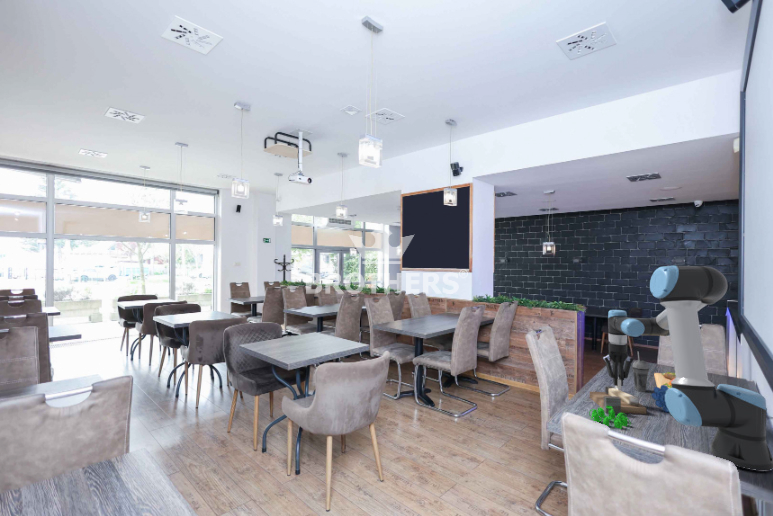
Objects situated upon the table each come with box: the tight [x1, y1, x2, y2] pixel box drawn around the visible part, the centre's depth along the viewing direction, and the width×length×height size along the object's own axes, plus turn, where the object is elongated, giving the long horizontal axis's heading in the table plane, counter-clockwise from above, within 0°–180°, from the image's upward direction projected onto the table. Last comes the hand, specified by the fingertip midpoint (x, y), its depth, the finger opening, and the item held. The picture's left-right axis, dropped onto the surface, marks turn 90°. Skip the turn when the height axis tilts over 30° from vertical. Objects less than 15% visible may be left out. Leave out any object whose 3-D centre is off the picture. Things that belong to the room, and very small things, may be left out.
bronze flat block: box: [589, 391, 647, 415], centre depth 171 cm, size 19×17×7 cm
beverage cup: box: [631, 351, 650, 393], centre depth 191 cm, size 7×7×20 cm
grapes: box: [651, 385, 670, 413], centre depth 163 cm, size 12×7×12 cm, turn 58°
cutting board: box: [653, 371, 676, 389], centre depth 197 cm, size 35×23×8 cm
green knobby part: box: [588, 406, 631, 430], centre depth 154 cm, size 15×15×7 cm
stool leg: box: [604, 385, 640, 406], centre depth 171 cm, size 16×4×3 cm, turn 14°
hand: (618, 392), depth 176 cm, fingers closed
